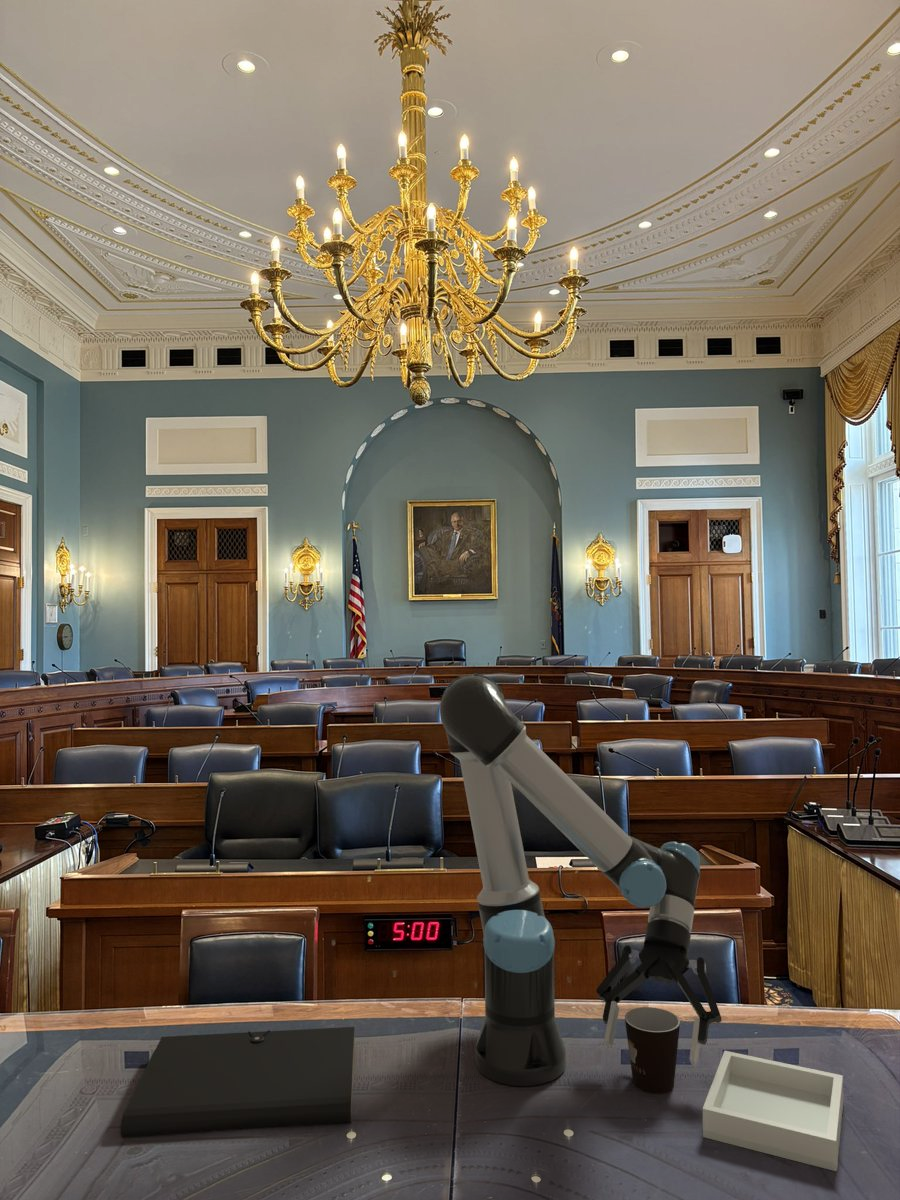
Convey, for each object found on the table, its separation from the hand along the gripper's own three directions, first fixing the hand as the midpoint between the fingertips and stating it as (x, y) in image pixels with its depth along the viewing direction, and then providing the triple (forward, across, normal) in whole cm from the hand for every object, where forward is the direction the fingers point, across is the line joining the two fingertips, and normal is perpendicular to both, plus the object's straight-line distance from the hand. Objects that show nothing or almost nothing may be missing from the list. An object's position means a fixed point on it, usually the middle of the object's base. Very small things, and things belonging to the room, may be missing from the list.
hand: (649, 1054), depth 136 cm
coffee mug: (+2, 0, -5) cm, 5 cm away
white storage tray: (+4, -19, -2) cm, 20 cm away
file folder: (+24, +57, +16) cm, 64 cm away
